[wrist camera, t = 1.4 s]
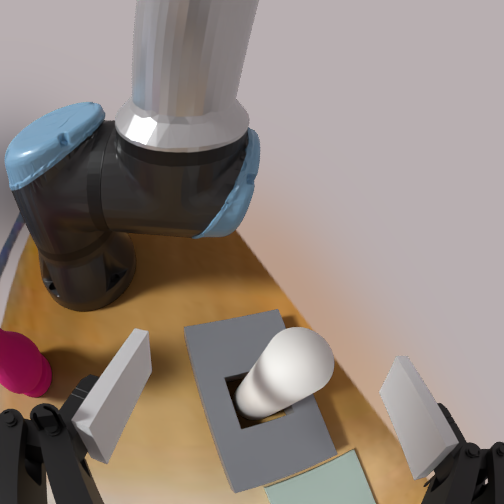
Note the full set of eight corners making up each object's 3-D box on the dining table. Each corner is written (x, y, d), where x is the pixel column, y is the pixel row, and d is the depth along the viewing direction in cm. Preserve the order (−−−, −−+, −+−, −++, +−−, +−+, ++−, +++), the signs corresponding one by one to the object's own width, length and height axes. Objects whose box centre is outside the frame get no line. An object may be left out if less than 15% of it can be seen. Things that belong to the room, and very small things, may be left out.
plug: (227, 387, 31) (255, 335, 19) (266, 376, 32) (317, 320, 20) (240, 425, 28) (280, 403, 16) (280, 413, 29) (344, 379, 18)
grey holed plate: (184, 336, 34) (184, 326, 31) (272, 319, 38) (278, 309, 36) (231, 489, 22) (235, 493, 20) (326, 454, 26) (337, 454, 24)
